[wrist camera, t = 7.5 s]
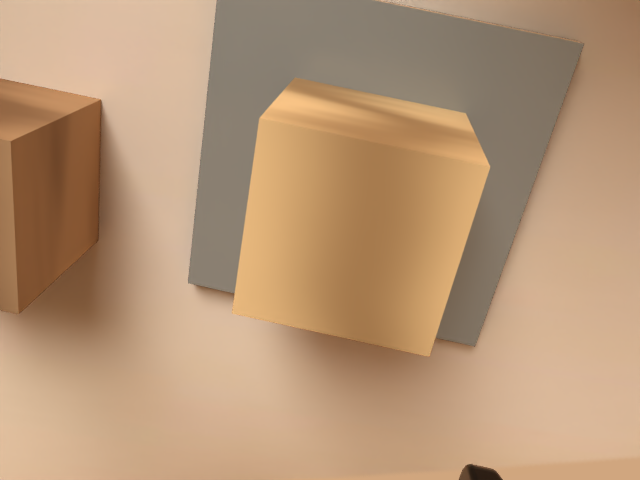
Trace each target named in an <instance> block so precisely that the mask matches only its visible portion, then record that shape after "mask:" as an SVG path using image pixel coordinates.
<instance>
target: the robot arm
mask: <svg viewBox="0 0 640 480" xmlns="http://www.w3.org/2000/svg"><path fill="white" fill-rule="evenodd" d="M459 480H503V479H502V478H501V477H500V475H499V474H498V473H497V472H496V471H495V470H493V469H491V468H487V467H482V466H477V465H473V464H469V465H466V466H465V467H464V469H463V470H462V472H461V475H460V478H459Z"/></svg>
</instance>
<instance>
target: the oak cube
mask: <svg viewBox="0 0 640 480" xmlns="http://www.w3.org/2000/svg"><path fill="white" fill-rule="evenodd" d="M489 170H490V165H489V163H488V161H487V158H486V156H485V154H484V152H483V150H482V147H481V145H480V143H479V141H478V139H477V137H476V134H475V132H474V130H473V128H472V126H471V123H470V121H469V119H468V117H467V115H466V113H462V112H458V111H453V110H448V109H443V108H439V107H434V106H429V105H424V104H419V103H415V102H410V101H405V100H400V99H396V98H391V97H386V96H381V95H376V94H372V93H367V92H362V91H357V90H353V89H348V88H343V87H338V86H333V85H329V84H324V83H319V82H314V81H310V80H305V79H300V78H294V79H293V80H292V81H291V82H290V84H289V85H288V86H287V87H286V88H285V89H284V90H283V92H282V93H281V94H280V95H279V96H278V97H277V98H276V100H275V101H274V102H273V103H272V104H271V105H270V106H269V108H268V109H267V110H266V111H265V112H264V113H263V114H262V116H261V117H260V118H259V124H258V131H257V138H256V145H255V153H254V160H253V167H252V174H251V181H250V188H249V195H248V202H247V209H246V216H245V224H244V231H243V238H242V245H241V252H240V259H239V266H238V273H237V280H236V287H235V295H234V302H233V309H232V314H237V315H242V316H246V317H251V318H255V319H260V320H264V321H269V322H273V323H278V324H282V325H287V326H291V327H296V328H301V329H305V330H310V331H314V332H319V333H323V334H328V335H332V336H337V337H341V338H346V339H350V340H355V341H359V342H364V343H369V344H373V345H378V346H382V347H387V348H391V349H396V350H400V351H405V352H409V353H414V354H418V355H423V356H428V357H429V356H430V353H431V350H432V347H433V344H434V341H435V338H436V334H437V331H438V328H439V325H440V322H441V319H442V316H443V313H444V310H445V306H446V303H447V300H448V297H449V294H450V291H451V288H452V285H453V282H454V278H455V275H456V272H457V269H458V266H459V263H460V260H461V257H462V254H463V250H464V247H465V244H466V241H467V238H468V235H469V232H470V229H471V226H472V222H473V219H474V216H475V213H476V210H477V207H478V204H479V201H480V198H481V194H482V191H483V188H484V185H485V182H486V179H487V176H488V173H489Z"/></svg>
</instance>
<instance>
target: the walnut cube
mask: <svg viewBox="0 0 640 480" xmlns="http://www.w3.org/2000/svg"><path fill="white" fill-rule="evenodd" d="M100 127H101V99H96V98H92V97H87V96H82V95H77V94H72V93H67V92H63V91H58V90H53V89H48V88H43V87H38V86H34V85H29V84H24V83H19V82H14V81H9V80H5V79H0V310H2V311H6V312H11V313H15V314H19V313H20V312H22V311H23V310H24V309H25V308H26V307H27V306H28V305H29V304H30V303H31V302H32V301H33V300H34V299H36V298H37V297H38V296H39V295H40V294H41V293H42V292H43V291H44V290H45V289H46V288H47V287H48V286H50V285H51V284H52V283H53V282H54V281H55V280H56V279H57V278H58V277H59V276H60V275H61V274H62V273H64V272H65V271H66V270H67V269H68V268H69V267H70V266H71V265H72V264H73V263H74V262H75V261H76V260H78V259H79V258H80V257H81V256H82V255H83V254H84V253H85V252H86V251H87V250H88V249H89V248H91V247H92V246H93V245H94V244H95V243H96V242H97V241H98V230H99V178H100Z"/></svg>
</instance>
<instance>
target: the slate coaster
mask: <svg viewBox="0 0 640 480" xmlns="http://www.w3.org/2000/svg"><path fill="white" fill-rule="evenodd" d="M583 46H584V43H581V42H579V41H575V40H570V39H566V38H561V37H556V36H551V35H546V34H541V33H537V32H532V31H527V30H522V29H517V28H512V27H508V26H503V25H498V24H493V23H488V22H483V21H479V20H474V19H469V18H464V17H459V16H454V15H449V14H445V13H440V12H435V11H430V10H425V9H420V8H416V7H411V6H406V5H401V4H396V3H391V2H387V1H382V0H217V3H216V13H215V23H214V33H213V42H212V52H211V62H210V72H209V82H208V91H207V101H206V111H205V121H204V131H203V140H202V150H201V160H200V170H199V180H198V189H197V199H196V209H195V219H194V228H193V238H192V248H191V258H190V268H189V277H188V283H190V284H194V285H199V286H203V287H208V288H212V289H217V290H221V291H226V292H230V293H235V287H236V280H237V273H238V266H239V259H240V252H241V245H242V238H243V231H244V224H245V216H246V209H247V202H248V195H249V188H250V181H251V174H252V167H253V160H254V153H255V145H256V138H257V131H258V124H259V118H260V117H261V116H262V114H263V113H264V112H265V111H266V110H267V109H268V108H269V106H270V105H271V104H272V103H273V102H274V101H275V100H276V98H277V97H278V96H279V95H280V94H281V93H282V92H283V90H284V89H285V88H286V87H287V86H288V85H289V84H290V82H291V81H292V80H293V79H294V78H300V79H305V80H310V81H314V82H319V83H324V84H329V85H333V86H338V87H343V88H348V89H353V90H357V91H362V92H367V93H372V94H376V95H381V96H386V97H391V98H396V99H400V100H405V101H410V102H415V103H419V104H424V105H429V106H434V107H439V108H443V109H448V110H453V111H458V112H462V113H466V115H467V117H468V119H469V121H470V123H471V126H472V128H473V130H474V132H475V134H476V137H477V139H478V141H479V143H480V145H481V147H482V150H483V152H484V154H485V156H486V158H487V161H488V163H489V165H490V170H489V173H488V176H487V179H486V182H485V185H484V188H483V191H482V194H481V198H480V201H479V204H478V207H477V210H476V213H475V216H474V219H473V222H472V226H471V229H470V232H469V235H468V238H467V241H466V244H465V247H464V250H463V254H462V257H461V260H460V263H459V266H458V269H457V272H456V275H455V278H454V282H453V285H452V288H451V291H450V294H449V297H448V300H447V303H446V306H445V310H444V313H443V316H442V319H441V322H440V325H439V328H438V331H437V334H436V338H439V339H443V340H448V341H452V342H457V343H462V344H466V345H471V346H475V345H476V342H477V340H478V337H479V334H480V331H481V329H482V326H483V323H484V320H485V318H486V315H487V312H488V309H489V306H490V304H491V301H492V298H493V295H494V293H495V290H496V287H497V284H498V281H499V279H500V276H501V273H502V270H503V268H504V265H505V262H506V259H507V256H508V254H509V251H510V248H511V245H512V243H513V240H514V237H515V234H516V231H517V229H518V226H519V223H520V220H521V218H522V215H523V212H524V209H525V207H526V204H527V201H528V198H529V195H530V193H531V190H532V187H533V184H534V182H535V179H536V176H537V173H538V170H539V168H540V165H541V162H542V159H543V157H544V154H545V151H546V148H547V145H548V143H549V140H550V137H551V134H552V132H553V129H554V126H555V123H556V120H557V118H558V115H559V112H560V109H561V107H562V104H563V101H564V98H565V96H566V93H567V90H568V87H569V84H570V82H571V79H572V76H573V73H574V71H575V68H576V65H577V62H578V59H579V57H580V54H581V51H582V48H583Z"/></svg>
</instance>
